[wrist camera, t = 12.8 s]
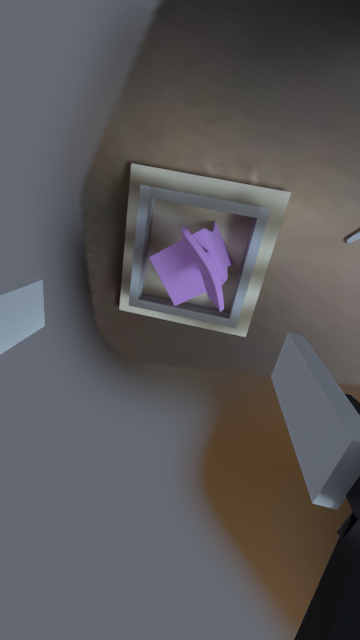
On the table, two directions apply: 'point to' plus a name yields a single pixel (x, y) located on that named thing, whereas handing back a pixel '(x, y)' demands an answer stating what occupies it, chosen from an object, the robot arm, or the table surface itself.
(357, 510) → the robot arm
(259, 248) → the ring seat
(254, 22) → the table surface
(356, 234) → the pliers
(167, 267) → the toy chair
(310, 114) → the table surface
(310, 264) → the table surface
